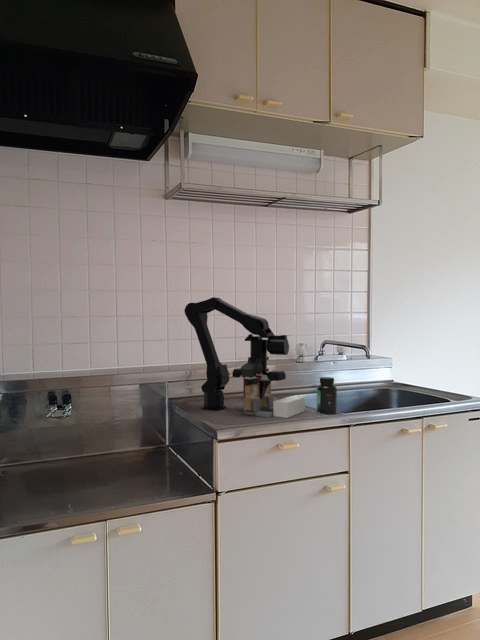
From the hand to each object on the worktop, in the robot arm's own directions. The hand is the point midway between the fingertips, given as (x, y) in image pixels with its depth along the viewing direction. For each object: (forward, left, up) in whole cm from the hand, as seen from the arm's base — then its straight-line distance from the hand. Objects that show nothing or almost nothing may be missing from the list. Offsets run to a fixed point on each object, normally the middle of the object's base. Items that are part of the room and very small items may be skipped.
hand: (258, 398), depth 173 cm
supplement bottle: (+20, +13, -5) cm, 24 cm away
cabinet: (+5, +2, -5) cm, 7 cm away
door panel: (0, 0, -3) cm, 3 cm away
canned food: (-14, +19, -5) cm, 24 cm away
